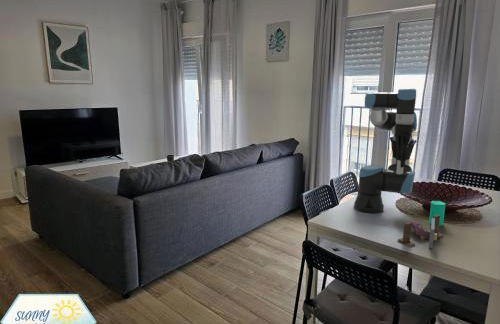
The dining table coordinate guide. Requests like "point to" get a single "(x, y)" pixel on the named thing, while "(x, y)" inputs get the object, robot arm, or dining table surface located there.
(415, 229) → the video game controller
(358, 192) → the robot arm
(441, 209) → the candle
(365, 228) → the dining table surface
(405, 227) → the brown bent pieces
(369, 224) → the dining table surface
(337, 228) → the dining table surface
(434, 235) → the door
